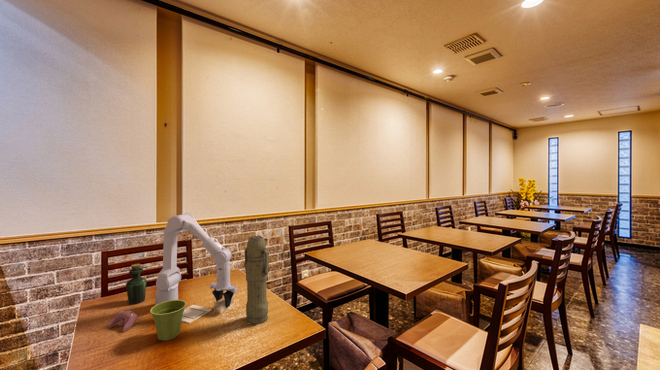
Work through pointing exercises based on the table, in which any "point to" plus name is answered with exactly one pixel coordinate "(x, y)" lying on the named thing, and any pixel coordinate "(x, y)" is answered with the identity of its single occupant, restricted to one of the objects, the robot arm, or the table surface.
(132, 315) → the video game controller
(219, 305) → the tall beige pillar block
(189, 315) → the mat
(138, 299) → the potion bottle
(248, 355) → the table surface
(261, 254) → the thermos
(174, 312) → the plant pot
